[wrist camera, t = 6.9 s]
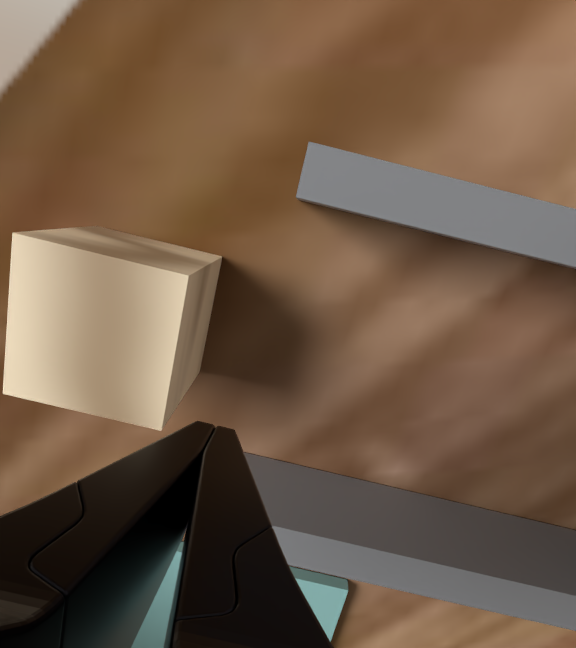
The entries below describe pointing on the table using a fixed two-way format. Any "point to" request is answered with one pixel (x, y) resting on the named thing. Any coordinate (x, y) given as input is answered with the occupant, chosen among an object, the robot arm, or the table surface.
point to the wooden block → (106, 322)
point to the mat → (316, 587)
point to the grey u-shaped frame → (405, 506)
